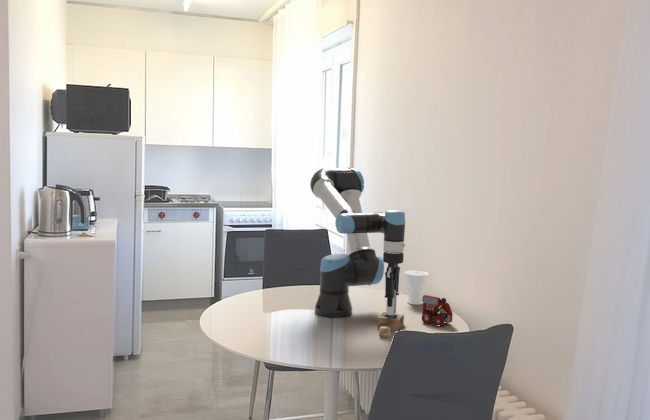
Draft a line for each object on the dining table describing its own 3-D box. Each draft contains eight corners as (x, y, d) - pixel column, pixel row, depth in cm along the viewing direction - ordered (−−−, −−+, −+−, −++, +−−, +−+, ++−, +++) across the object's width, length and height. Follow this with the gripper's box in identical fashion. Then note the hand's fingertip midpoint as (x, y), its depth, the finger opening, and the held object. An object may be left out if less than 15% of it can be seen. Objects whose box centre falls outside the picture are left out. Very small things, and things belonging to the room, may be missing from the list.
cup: (430, 302, 251) (432, 272, 250) (421, 307, 242) (422, 276, 241) (408, 298, 257) (410, 269, 255) (398, 303, 248) (400, 273, 247)
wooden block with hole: (377, 327, 212) (377, 317, 212) (383, 322, 220) (383, 312, 219) (398, 330, 210) (398, 320, 209) (403, 324, 217) (403, 314, 217)
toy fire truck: (447, 328, 214) (448, 301, 213) (417, 322, 221) (418, 296, 220) (454, 324, 220) (456, 298, 219) (425, 318, 227) (426, 292, 226)
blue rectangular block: (386, 321, 214) (387, 290, 212) (388, 319, 216) (389, 288, 215) (393, 322, 213) (395, 291, 212) (395, 320, 215) (396, 289, 214)
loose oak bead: (377, 337, 202) (378, 328, 202) (380, 333, 206) (381, 325, 205) (388, 338, 201) (389, 330, 200) (391, 335, 204) (391, 327, 204)
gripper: (398, 256, 203) (395, 320, 206) (408, 249, 218) (405, 309, 220) (378, 254, 206) (375, 317, 208) (389, 247, 221) (386, 307, 223)
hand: (391, 313), depth 214 cm, fingers closed on blue rectangular block, 3 cm apart
